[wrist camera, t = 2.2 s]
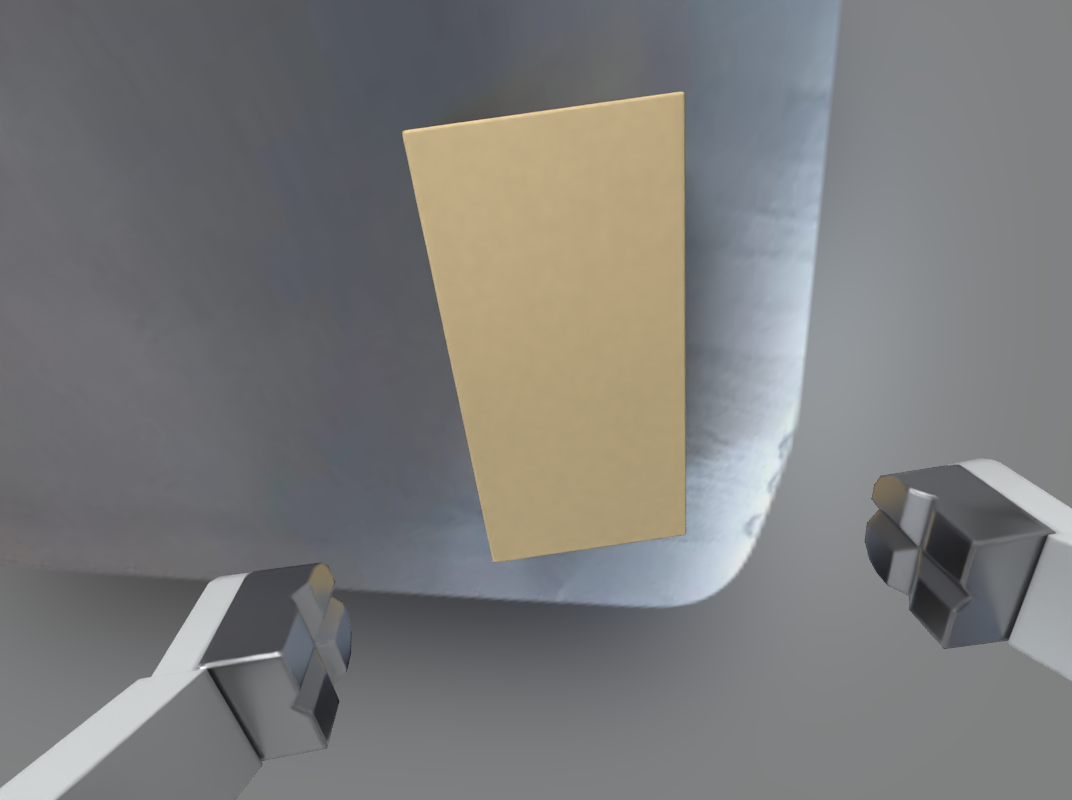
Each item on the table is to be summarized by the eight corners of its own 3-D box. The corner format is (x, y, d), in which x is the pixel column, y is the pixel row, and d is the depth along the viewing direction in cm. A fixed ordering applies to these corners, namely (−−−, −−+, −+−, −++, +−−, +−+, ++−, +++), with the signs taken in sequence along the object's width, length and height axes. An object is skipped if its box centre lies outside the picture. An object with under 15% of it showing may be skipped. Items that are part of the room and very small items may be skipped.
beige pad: (649, 97, 14) (685, 90, 12) (660, 479, 20) (687, 536, 17) (418, 130, 14) (401, 130, 11) (493, 503, 20) (493, 564, 17)
